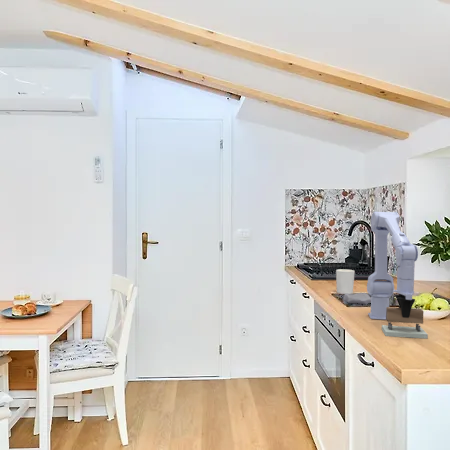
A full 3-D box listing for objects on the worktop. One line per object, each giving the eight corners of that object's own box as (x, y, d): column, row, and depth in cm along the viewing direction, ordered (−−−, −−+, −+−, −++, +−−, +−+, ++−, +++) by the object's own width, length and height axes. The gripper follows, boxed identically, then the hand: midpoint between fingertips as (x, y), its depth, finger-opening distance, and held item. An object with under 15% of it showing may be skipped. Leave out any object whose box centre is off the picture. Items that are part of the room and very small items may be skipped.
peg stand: (381, 329, 180) (381, 319, 179) (421, 331, 177) (421, 322, 177) (385, 336, 170) (386, 326, 170) (427, 338, 167) (427, 328, 167)
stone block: (373, 308, 228) (365, 299, 238) (373, 298, 227) (366, 290, 237) (348, 308, 227) (342, 300, 237) (349, 299, 226) (342, 291, 236)
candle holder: (331, 292, 257) (332, 270, 257) (341, 290, 265) (341, 268, 264) (348, 295, 251) (349, 272, 250) (357, 292, 258) (358, 270, 258)
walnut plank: (386, 319, 176) (386, 307, 176) (420, 321, 174) (420, 308, 174) (387, 321, 172) (388, 309, 172) (423, 323, 170) (423, 311, 170)
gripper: (390, 275, 181) (389, 311, 181) (397, 281, 166) (396, 319, 167) (410, 276, 179) (409, 312, 180) (419, 282, 165) (417, 321, 165)
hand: (404, 316), depth 173 cm, fingers closed on walnut plank, 4 cm apart
